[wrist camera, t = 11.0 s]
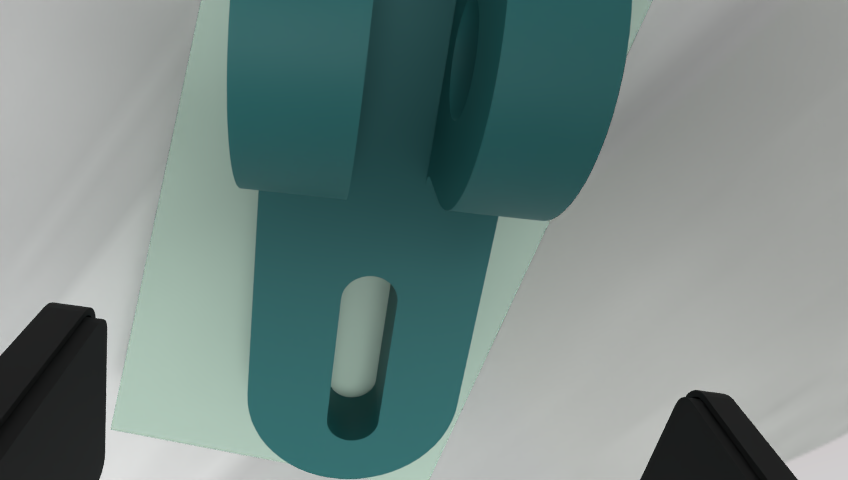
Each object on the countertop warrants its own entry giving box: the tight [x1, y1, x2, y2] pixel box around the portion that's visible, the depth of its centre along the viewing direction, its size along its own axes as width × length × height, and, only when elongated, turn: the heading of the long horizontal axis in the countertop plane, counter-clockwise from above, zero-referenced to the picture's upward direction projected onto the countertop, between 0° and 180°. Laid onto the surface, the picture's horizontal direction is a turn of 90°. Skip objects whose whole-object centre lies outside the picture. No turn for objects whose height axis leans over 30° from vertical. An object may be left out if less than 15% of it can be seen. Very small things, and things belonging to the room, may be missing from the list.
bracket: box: [227, 0, 632, 479], centre depth 17 cm, size 18×7×8 cm, turn 171°
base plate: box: [111, 0, 653, 480], centre depth 22 cm, size 12×22×4 cm, turn 160°
